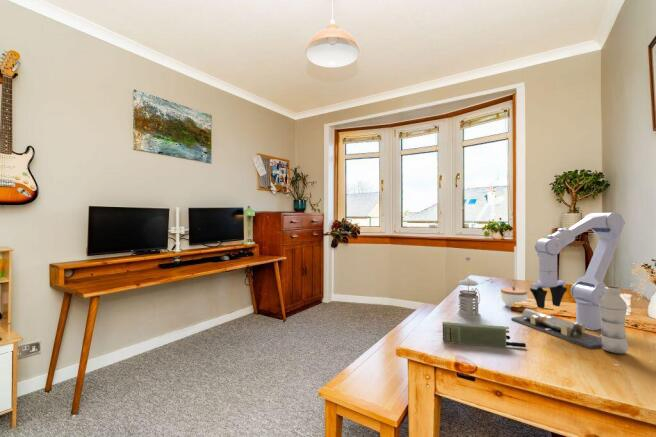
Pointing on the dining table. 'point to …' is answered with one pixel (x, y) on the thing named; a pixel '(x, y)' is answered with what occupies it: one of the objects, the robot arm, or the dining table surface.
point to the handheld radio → (478, 335)
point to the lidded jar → (513, 295)
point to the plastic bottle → (613, 321)
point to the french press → (468, 299)
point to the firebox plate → (557, 333)
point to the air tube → (549, 320)
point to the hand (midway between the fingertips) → (548, 306)
